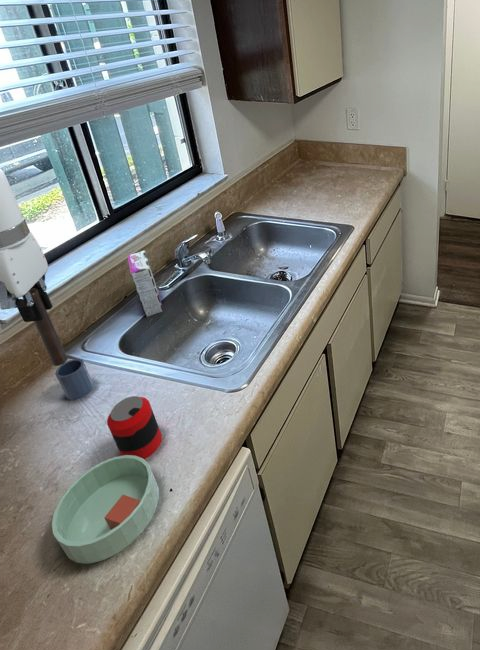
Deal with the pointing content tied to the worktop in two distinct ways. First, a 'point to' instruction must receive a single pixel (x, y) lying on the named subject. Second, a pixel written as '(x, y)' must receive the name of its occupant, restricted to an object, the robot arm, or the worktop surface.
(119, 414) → the soda can
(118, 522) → the block
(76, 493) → the bowl
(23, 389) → the worktop surface
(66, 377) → the utensil holder
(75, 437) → the worktop surface
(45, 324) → the stirring stick
